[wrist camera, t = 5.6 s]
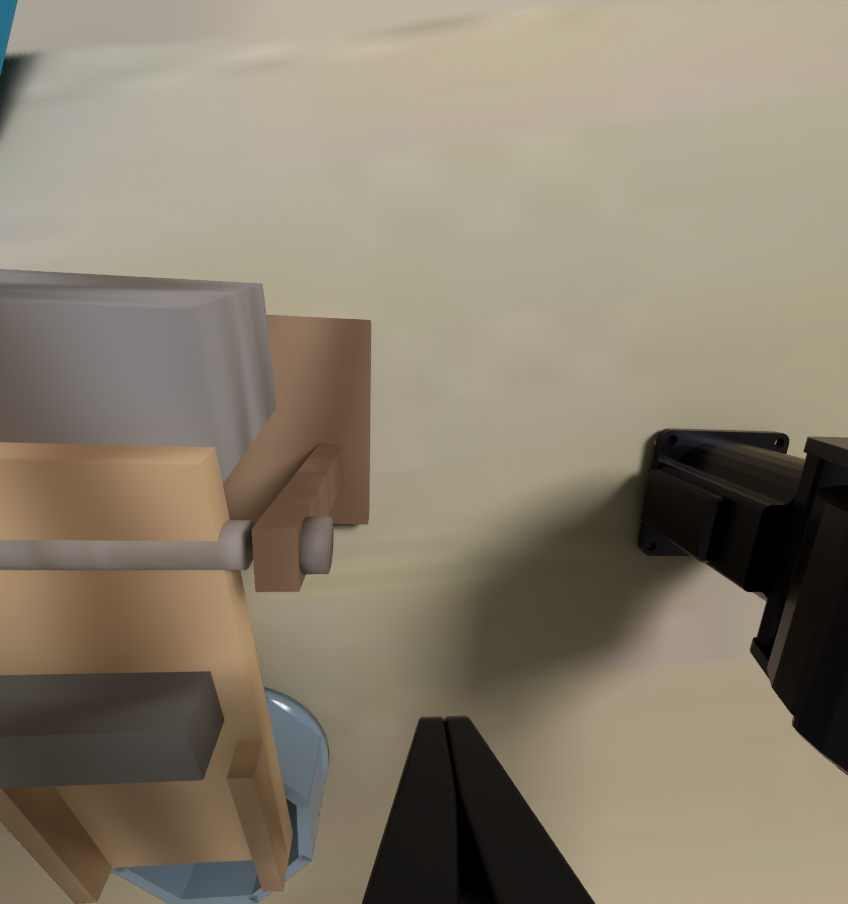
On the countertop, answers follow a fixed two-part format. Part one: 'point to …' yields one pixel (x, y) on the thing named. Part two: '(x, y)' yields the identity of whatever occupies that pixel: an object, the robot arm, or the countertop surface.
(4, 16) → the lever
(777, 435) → the robot arm
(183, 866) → the blue bowl
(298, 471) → the lever stand
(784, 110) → the countertop surface
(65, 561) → the tipping lever
